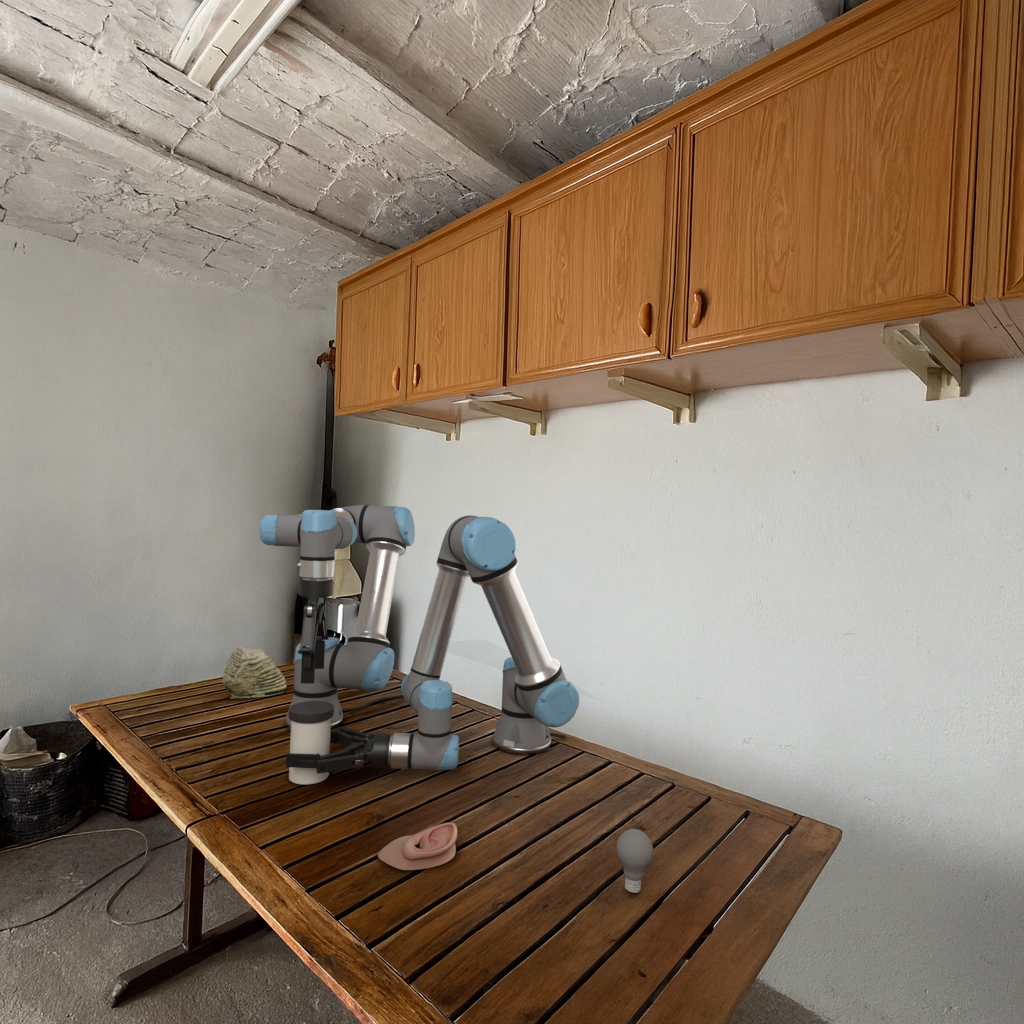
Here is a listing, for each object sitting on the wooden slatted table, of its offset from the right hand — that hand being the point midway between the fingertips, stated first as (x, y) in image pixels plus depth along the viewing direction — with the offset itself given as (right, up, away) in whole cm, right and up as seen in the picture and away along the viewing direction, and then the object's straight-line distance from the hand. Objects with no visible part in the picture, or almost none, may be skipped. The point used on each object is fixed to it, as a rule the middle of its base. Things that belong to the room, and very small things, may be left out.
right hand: (295, 747), depth 143 cm
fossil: (-32, -4, +55) cm, 64 cm away
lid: (+3, +9, 0) cm, 9 cm away
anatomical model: (+32, -8, -29) cm, 44 cm away
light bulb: (+69, -10, -37) cm, 79 cm away
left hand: (+4, +16, 0) cm, 17 cm away
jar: (+3, -7, 0) cm, 7 cm away
